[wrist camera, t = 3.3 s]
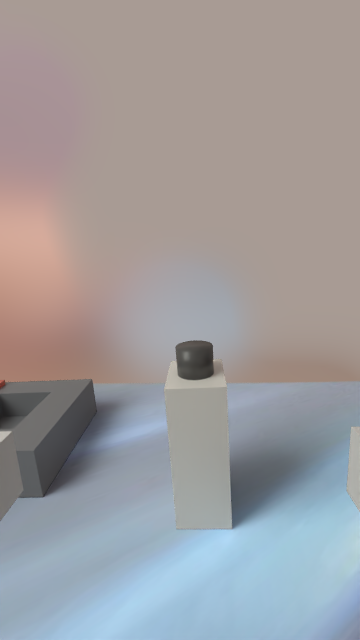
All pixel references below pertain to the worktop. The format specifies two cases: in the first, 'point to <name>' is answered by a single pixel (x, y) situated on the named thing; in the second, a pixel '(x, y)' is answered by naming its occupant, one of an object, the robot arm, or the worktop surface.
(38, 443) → the socket
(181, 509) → the plug
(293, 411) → the worktop surface
